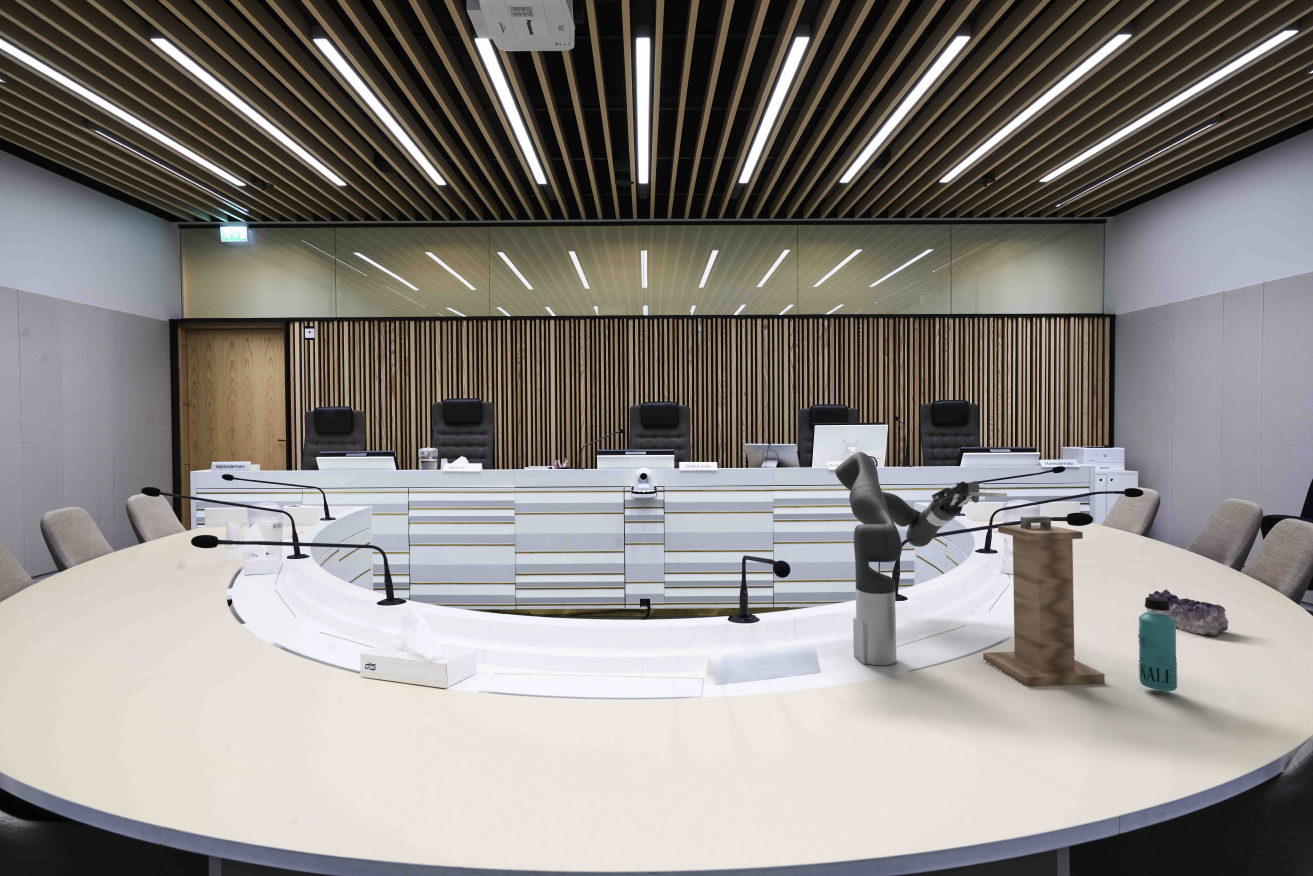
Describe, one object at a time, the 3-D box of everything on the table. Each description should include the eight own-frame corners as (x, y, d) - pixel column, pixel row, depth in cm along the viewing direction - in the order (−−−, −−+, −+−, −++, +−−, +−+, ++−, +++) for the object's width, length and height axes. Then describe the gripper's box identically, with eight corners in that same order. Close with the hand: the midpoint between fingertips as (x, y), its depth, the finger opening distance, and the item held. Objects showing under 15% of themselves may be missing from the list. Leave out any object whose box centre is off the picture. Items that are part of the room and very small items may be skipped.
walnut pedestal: (1026, 686, 138) (1023, 523, 138) (983, 660, 153) (980, 514, 154) (1104, 683, 139) (1102, 521, 139) (1053, 658, 155) (1051, 512, 155)
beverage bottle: (1163, 686, 136) (1162, 594, 136) (1186, 699, 130) (1184, 602, 130) (1131, 686, 137) (1130, 593, 137) (1152, 698, 130) (1150, 601, 130)
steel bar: (995, 497, 160) (994, 483, 160) (956, 495, 178) (956, 482, 178) (1006, 496, 160) (1006, 483, 160) (967, 495, 178) (966, 482, 178)
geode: (1131, 619, 186) (1132, 585, 187) (1160, 621, 189) (1161, 587, 190) (1207, 637, 167) (1208, 599, 167) (1238, 639, 170) (1240, 601, 170)
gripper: (916, 498, 190) (942, 472, 175) (961, 497, 191) (991, 471, 176) (923, 521, 186) (950, 497, 171) (969, 520, 187) (999, 496, 172)
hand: (970, 484), depth 174 cm, fingers closed on steel bar, 3 cm apart
